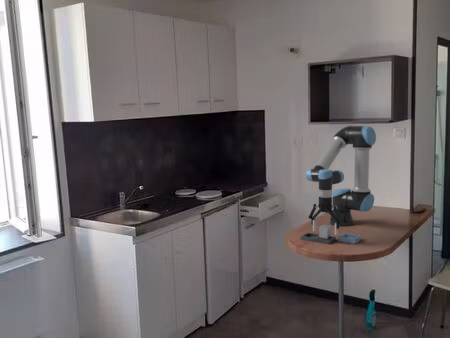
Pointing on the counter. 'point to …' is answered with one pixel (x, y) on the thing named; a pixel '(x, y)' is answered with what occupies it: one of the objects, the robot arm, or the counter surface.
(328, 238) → the grey rectangular block
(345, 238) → the parts tray
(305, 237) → the rack frame
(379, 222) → the counter surface
